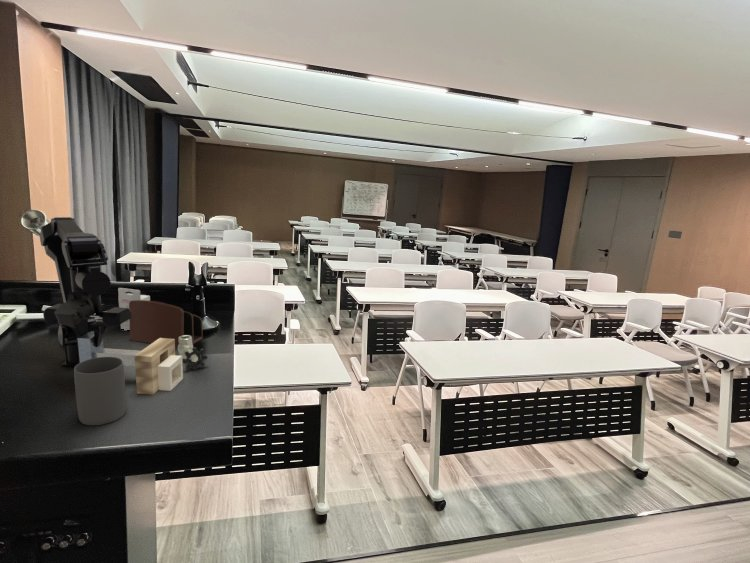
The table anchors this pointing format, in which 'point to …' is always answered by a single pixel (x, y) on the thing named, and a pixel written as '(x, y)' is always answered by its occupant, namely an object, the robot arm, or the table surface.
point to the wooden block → (152, 364)
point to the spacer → (170, 372)
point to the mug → (100, 390)
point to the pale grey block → (103, 350)
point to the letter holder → (162, 322)
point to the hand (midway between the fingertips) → (91, 346)
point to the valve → (190, 352)
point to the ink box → (125, 300)
